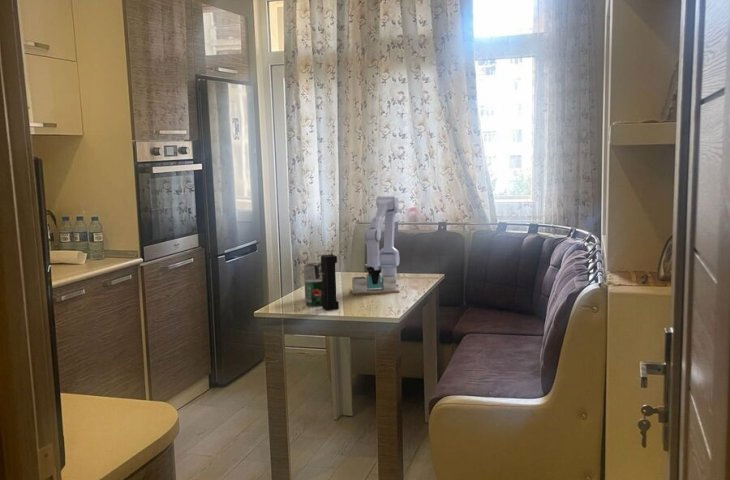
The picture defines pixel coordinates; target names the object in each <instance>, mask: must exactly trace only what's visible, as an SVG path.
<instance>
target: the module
mask: <svg viewBox="0 0 730 480" xmlns="http://www.w3.org/2000/svg"><path fill="white" fill-rule="evenodd" d="M365 278H366V280H367V289H373V288H382V285H381V274H380V275H379V279H378V284H373V283H372V277H371V274H369V273H367V274H365Z"/></svg>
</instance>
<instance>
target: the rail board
mask: <svg viewBox="0 0 730 480" xmlns="http://www.w3.org/2000/svg"><path fill="white" fill-rule="evenodd" d="M396 276H397V275H396ZM396 276H394V275H383V276H381V280H382V285H381V288H371V289H368V288H367V280H366V276H354V277H352V278H351V280H352V281H351V283H352V284H351V286H352V289H351V290H349V293H350V294H351V295H352V296H353V297H355V296H365V295H366V296H370V295H381V294H395V293H397V294H398V293H400V289H398V288H397V285H396Z"/></svg>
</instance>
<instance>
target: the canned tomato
mask: <svg viewBox="0 0 730 480" xmlns="http://www.w3.org/2000/svg"><path fill="white" fill-rule="evenodd" d="M321 283H322V279H308V280H304V286H305V285H306V301H305V302H306V304H305V305H306V307H309V308H318V307H321Z"/></svg>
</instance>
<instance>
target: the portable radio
mask: <svg viewBox="0 0 730 480" xmlns="http://www.w3.org/2000/svg"><path fill="white" fill-rule="evenodd" d="M320 263H321V274H322V283H321V306H320V307H321V308H322V309H323V310H325V311H327V312H328V311H336V310H339V309H340V304H339V301H338V299H337V280H336V279H337V277H336V275H337V274H336V264H337V263H338V256H337V255H335V254H333V249H332V250H331V254H321V256H320Z"/></svg>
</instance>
